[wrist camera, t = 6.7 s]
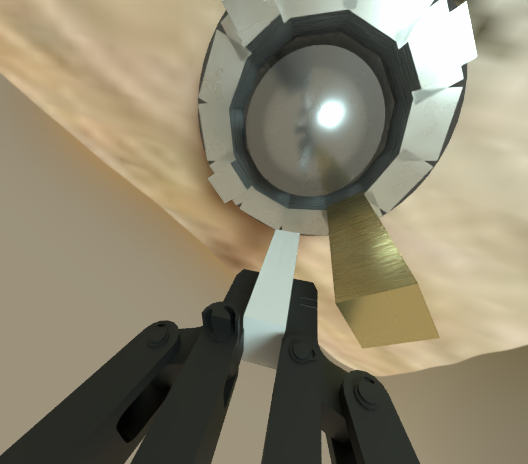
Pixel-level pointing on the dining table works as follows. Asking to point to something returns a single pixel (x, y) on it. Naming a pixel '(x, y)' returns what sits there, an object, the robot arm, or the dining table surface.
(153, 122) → the dining table surface
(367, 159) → the housing
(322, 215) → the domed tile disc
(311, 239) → the dining table surface
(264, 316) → the robot arm
